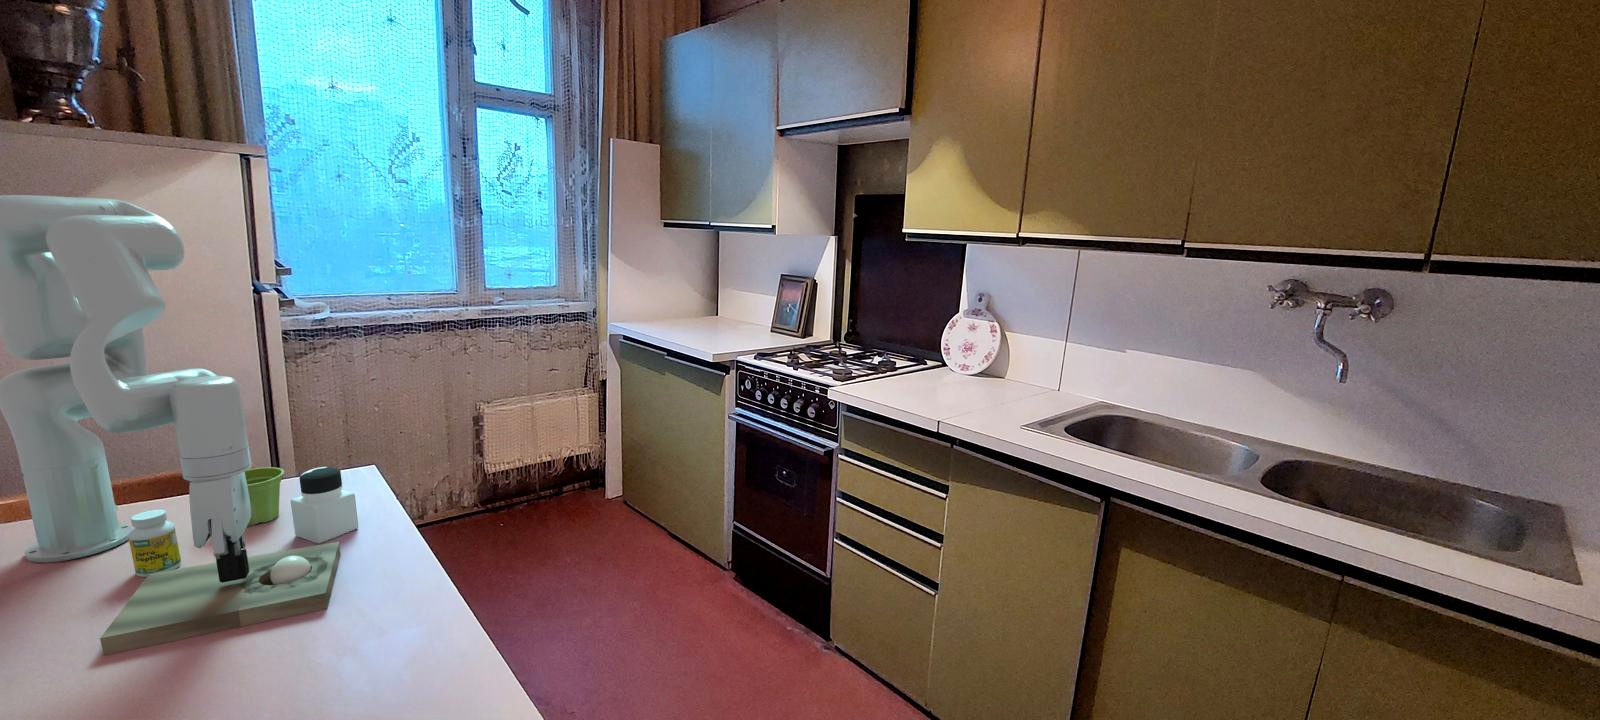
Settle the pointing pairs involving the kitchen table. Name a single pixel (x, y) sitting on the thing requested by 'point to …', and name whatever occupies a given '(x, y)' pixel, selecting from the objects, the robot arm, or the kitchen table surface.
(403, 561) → the kitchen table surface
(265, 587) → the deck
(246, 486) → the robot arm
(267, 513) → the plant pot
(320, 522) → the medicine bottle
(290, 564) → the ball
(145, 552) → the supplement bottle
